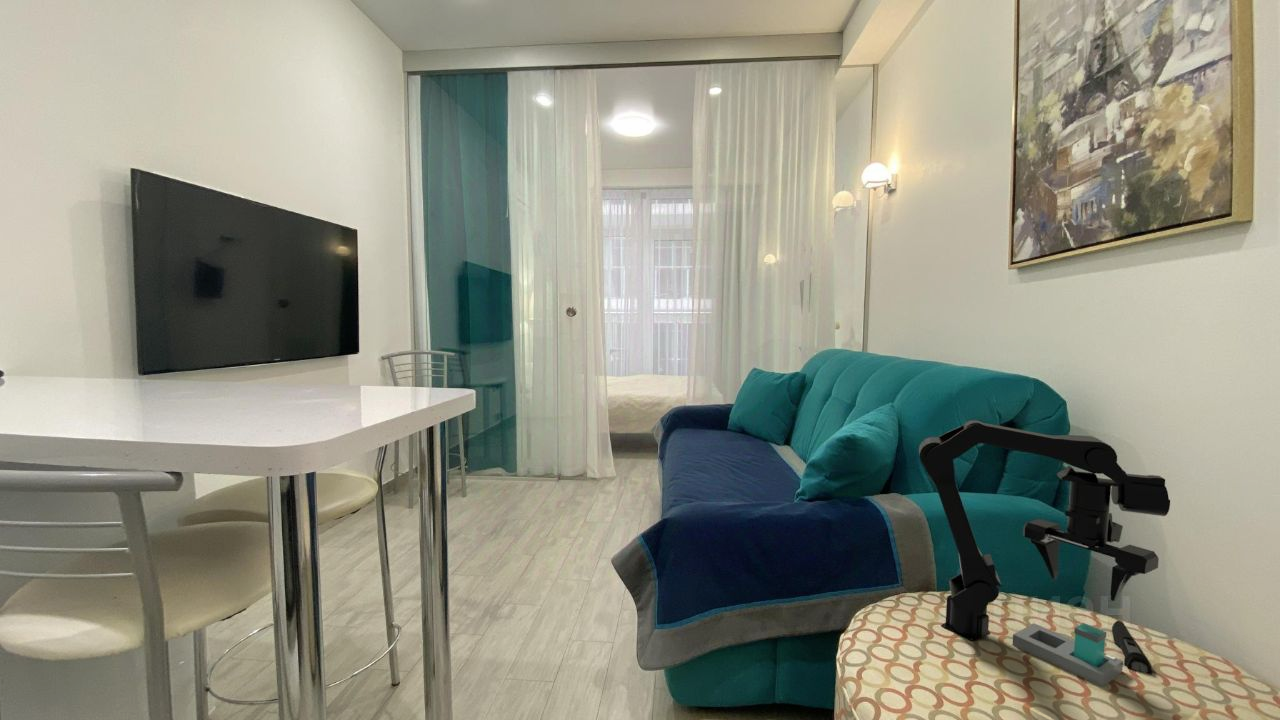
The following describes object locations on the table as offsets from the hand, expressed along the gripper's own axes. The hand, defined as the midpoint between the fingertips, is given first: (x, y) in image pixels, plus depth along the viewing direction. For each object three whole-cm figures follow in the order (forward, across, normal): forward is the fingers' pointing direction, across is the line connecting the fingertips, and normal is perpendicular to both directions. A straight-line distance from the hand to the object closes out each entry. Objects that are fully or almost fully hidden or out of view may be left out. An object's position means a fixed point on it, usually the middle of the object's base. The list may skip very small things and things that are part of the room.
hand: (1082, 589), depth 101 cm
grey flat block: (+13, +1, +4) cm, 13 cm away
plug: (+12, -3, +3) cm, 13 cm away
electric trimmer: (+13, -4, -10) cm, 17 cm away
